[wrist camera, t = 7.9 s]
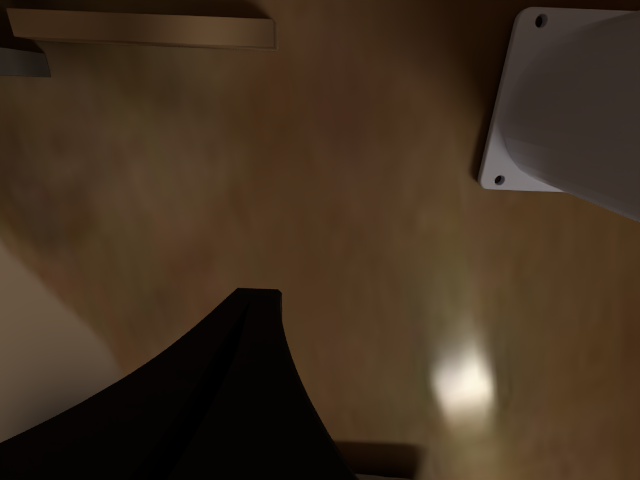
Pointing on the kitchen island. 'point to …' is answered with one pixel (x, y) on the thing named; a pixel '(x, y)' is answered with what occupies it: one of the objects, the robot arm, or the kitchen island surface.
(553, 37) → the robot arm
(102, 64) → the kitchen island surface
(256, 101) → the kitchen island surface
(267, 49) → the pitch goal
